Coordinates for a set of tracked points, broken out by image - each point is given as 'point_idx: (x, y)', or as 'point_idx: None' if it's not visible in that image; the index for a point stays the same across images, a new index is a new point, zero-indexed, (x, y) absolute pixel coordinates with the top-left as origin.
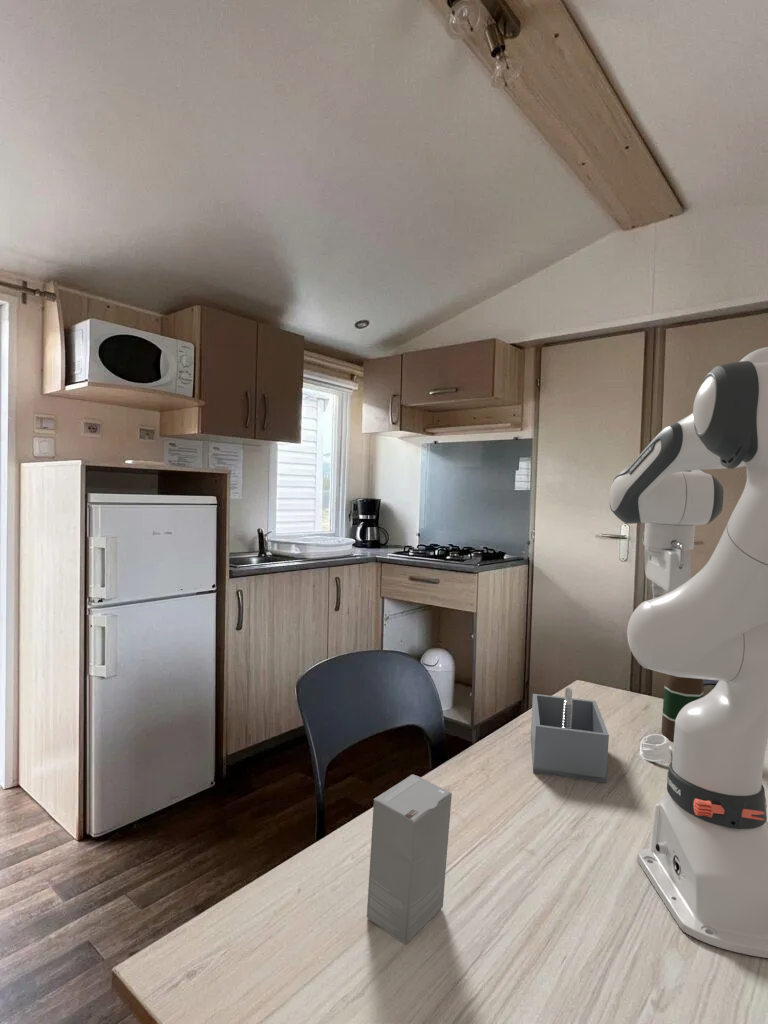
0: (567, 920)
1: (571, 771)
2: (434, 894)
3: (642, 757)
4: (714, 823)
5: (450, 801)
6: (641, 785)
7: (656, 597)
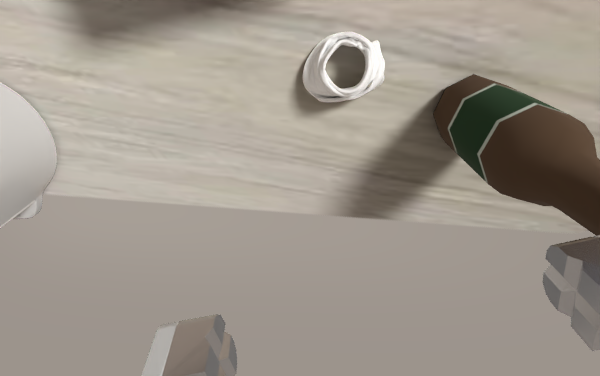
0: None
1: None
2: None
3: (325, 38)
4: None
5: None
6: (193, 41)
7: (593, 295)
